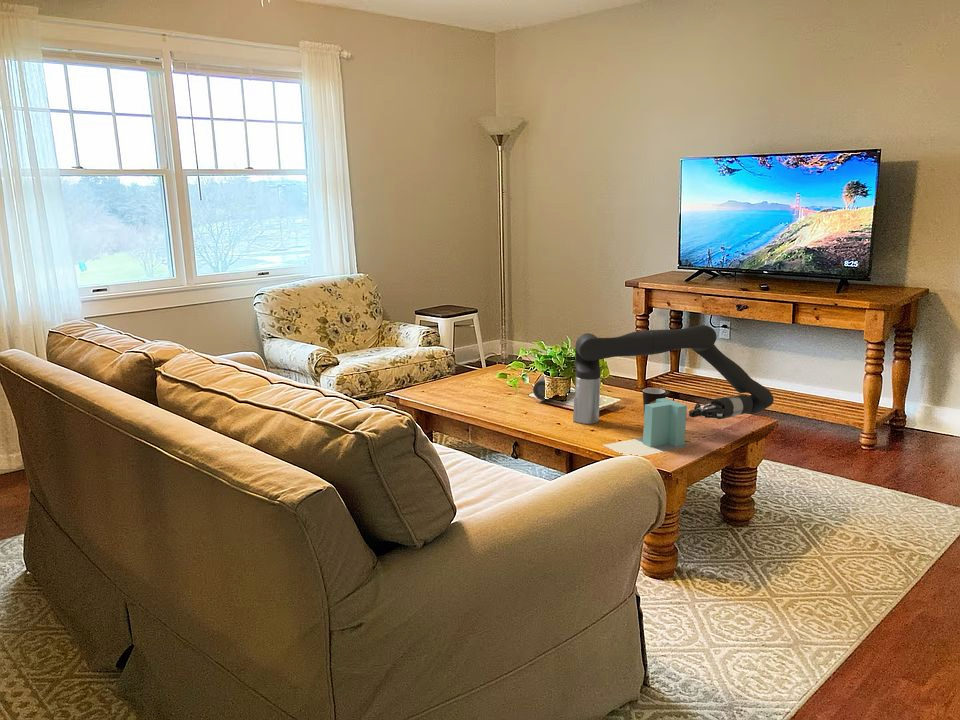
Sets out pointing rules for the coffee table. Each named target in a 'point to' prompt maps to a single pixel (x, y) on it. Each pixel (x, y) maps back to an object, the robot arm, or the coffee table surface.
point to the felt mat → (640, 447)
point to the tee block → (664, 423)
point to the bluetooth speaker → (539, 389)
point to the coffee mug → (653, 395)
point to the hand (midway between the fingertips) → (690, 414)
